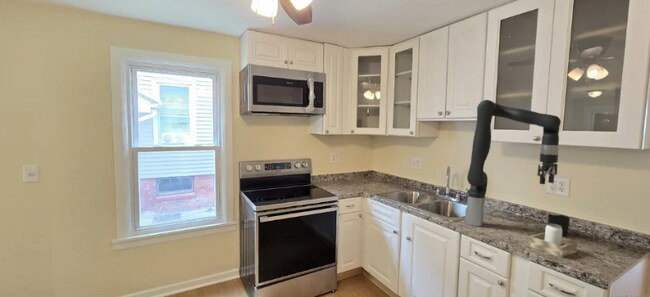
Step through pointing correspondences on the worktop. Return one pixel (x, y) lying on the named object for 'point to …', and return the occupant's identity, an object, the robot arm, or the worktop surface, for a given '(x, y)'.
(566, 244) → the bore box
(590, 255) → the worktop surface
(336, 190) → the worktop surface
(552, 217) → the pen holder
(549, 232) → the can
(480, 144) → the robot arm
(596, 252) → the worktop surface
